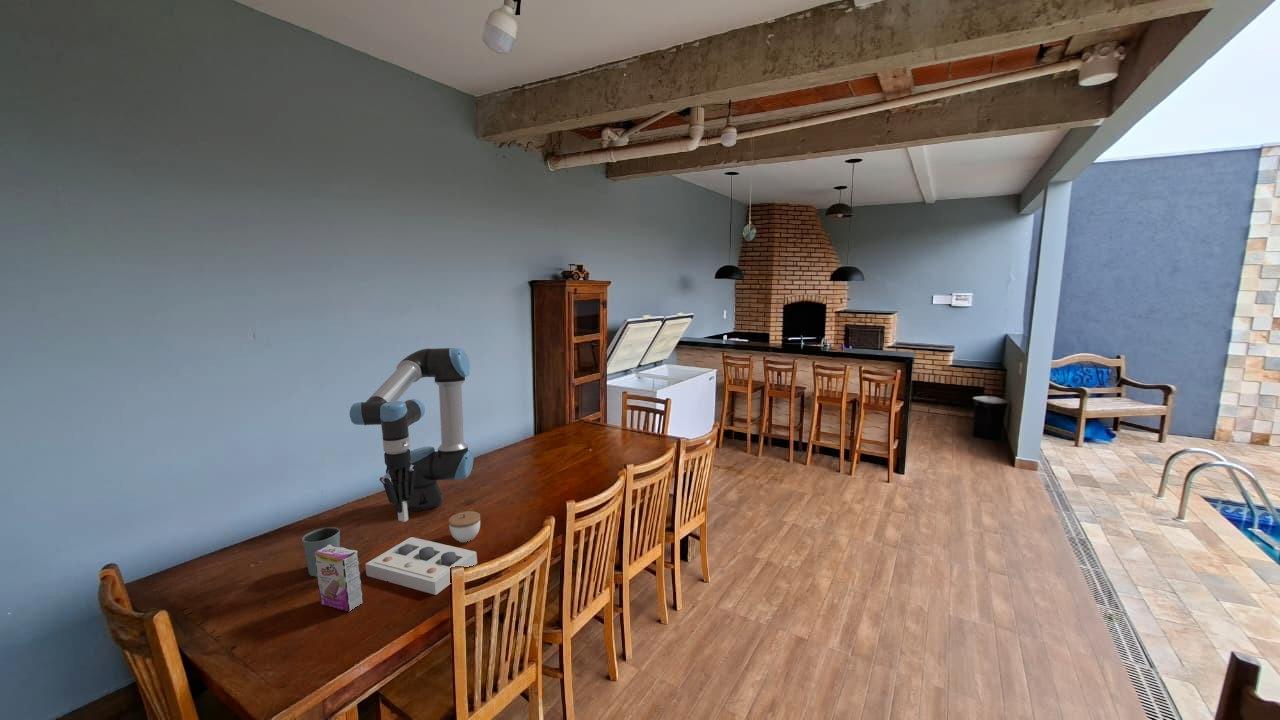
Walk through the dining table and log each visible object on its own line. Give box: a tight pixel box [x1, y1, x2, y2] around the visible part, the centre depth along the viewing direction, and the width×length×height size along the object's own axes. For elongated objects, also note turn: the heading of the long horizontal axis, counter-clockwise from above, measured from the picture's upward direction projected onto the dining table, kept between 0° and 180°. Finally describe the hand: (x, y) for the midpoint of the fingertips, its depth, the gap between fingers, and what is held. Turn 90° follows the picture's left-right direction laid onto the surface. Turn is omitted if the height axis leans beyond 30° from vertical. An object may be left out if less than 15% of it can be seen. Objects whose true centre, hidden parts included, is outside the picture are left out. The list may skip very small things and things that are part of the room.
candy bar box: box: [314, 545, 364, 613], centre depth 141 cm, size 11×5×16 cm, turn 71°
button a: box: [398, 545, 413, 556], centre depth 165 cm, size 4×4×3 cm
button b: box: [419, 547, 434, 561], centre depth 161 cm, size 4×4×3 cm
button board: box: [365, 536, 478, 596], centre depth 160 cm, size 18×28×4 cm, turn 68°
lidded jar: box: [448, 510, 481, 543], centre depth 179 cm, size 11×11×9 cm
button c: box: [441, 552, 456, 567], centre depth 158 cm, size 4×4×3 cm
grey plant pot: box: [301, 526, 341, 578], centre depth 160 cm, size 10×10×12 cm
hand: (403, 520), depth 163 cm, fingers closed
